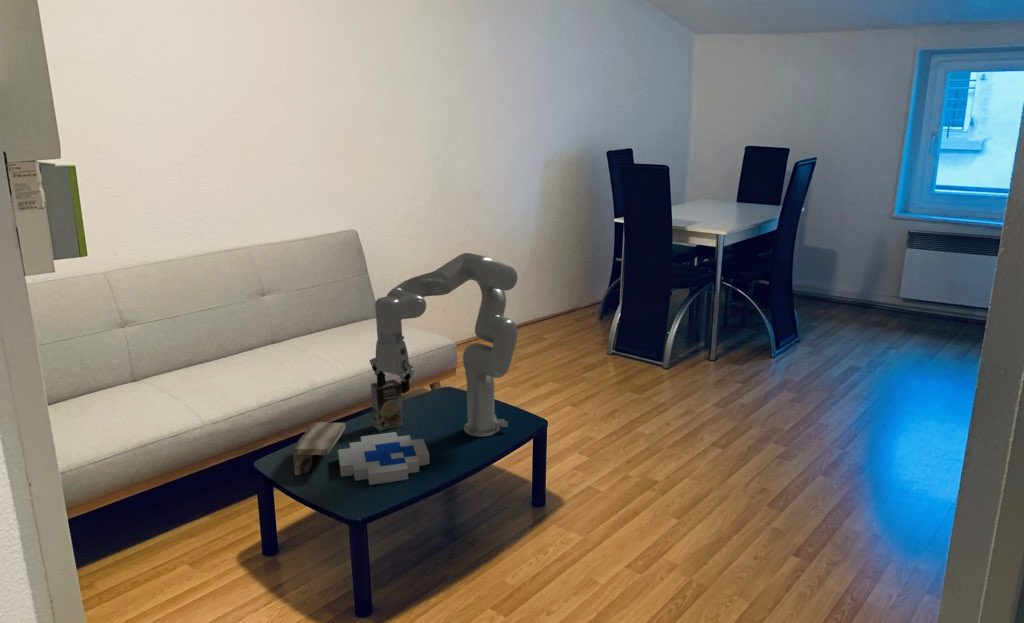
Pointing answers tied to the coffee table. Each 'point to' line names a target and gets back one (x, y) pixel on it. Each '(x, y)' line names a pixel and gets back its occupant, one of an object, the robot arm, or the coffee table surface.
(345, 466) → the pixel art tile
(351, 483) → the coffee table surface
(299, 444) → the low shelf
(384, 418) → the coffee box
